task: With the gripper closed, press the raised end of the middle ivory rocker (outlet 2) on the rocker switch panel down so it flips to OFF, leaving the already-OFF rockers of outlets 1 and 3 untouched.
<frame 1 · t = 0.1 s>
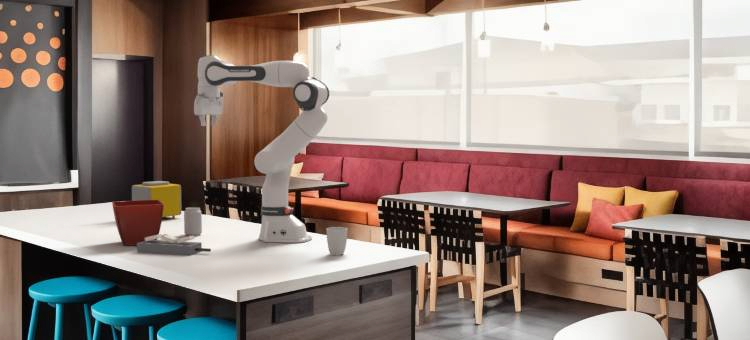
hand: (208, 125, 369), 48 cm above the counter, tool pointing down, fingers open, 8 cm apart
rocker 2: (169, 238, 333), point 5 cm above the counter, hinge at -15.0°
rocker 1: (185, 239, 331), point 5 cm above the counter, hinge at 15.0°
rocker 3: (153, 237, 335), point 5 cm above the counter, hinge at 15.0°
cup: (337, 254, 328), on the counter
rocker switch panel: (169, 251, 333), on the counter
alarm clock: (156, 219, 428), on the counter
plant pot: (138, 243, 354), on the counter
can: (193, 235, 376), on the counter
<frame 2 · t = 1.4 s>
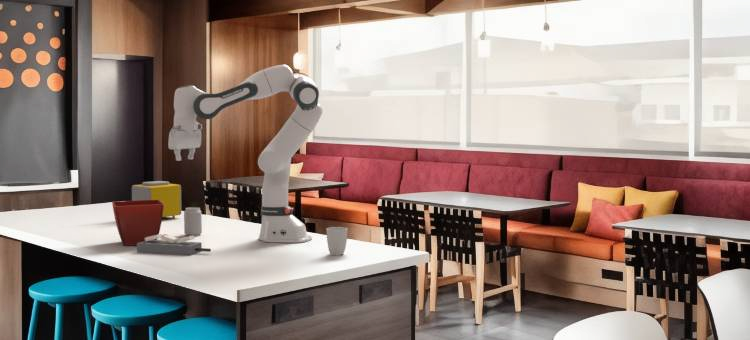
hand: (184, 159, 346), 35 cm above the counter, tool pointing down, fingers open, 8 cm apart
nothing on the counter moved.
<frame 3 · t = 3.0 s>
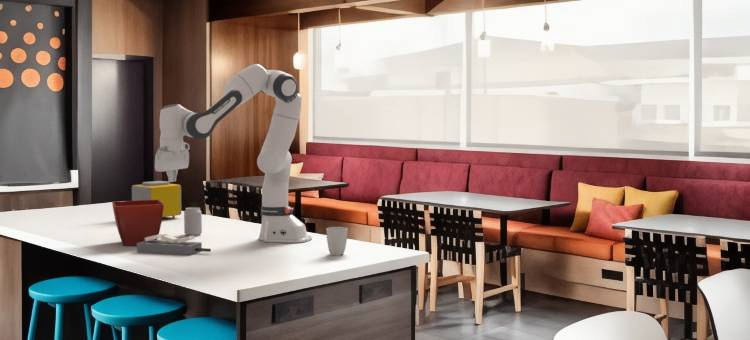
hand: (172, 181, 334), 27 cm above the counter, tool pointing down, fingers closed
nothing on the counter moved.
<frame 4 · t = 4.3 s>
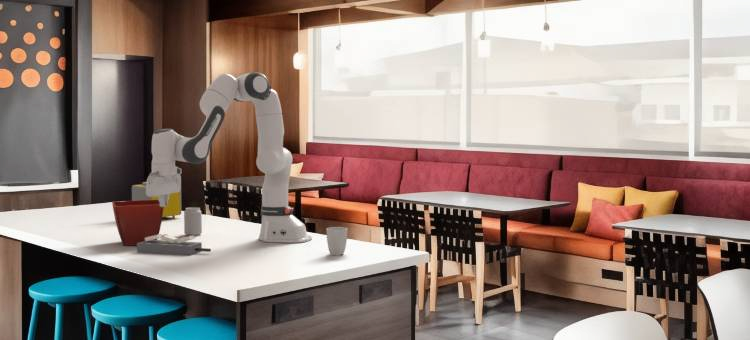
hand: (163, 206, 332), 18 cm above the counter, tool pointing down, fingers closed
nothing on the counter moved.
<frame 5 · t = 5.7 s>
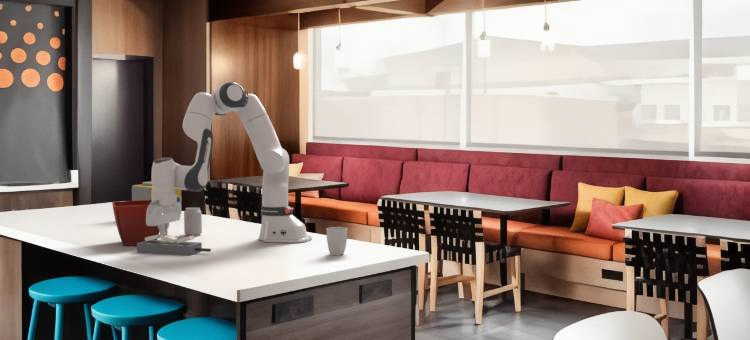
hand: (163, 234, 333), 7 cm above the counter, tool pointing down, fingers closed, pressing on rocker 2
rocker 2: (169, 238, 333), point 5 cm above the counter, hinge at -14.7°, touching gripper
everything else where it was.
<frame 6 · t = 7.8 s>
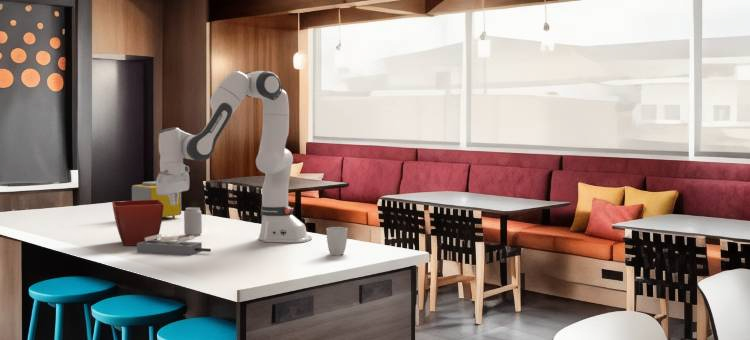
hand: (174, 204, 335), 18 cm above the counter, tool pointing down, fingers closed
rocker 2: (169, 238, 333), point 5 cm above the counter, hinge at 6.9°
everything else where it was.
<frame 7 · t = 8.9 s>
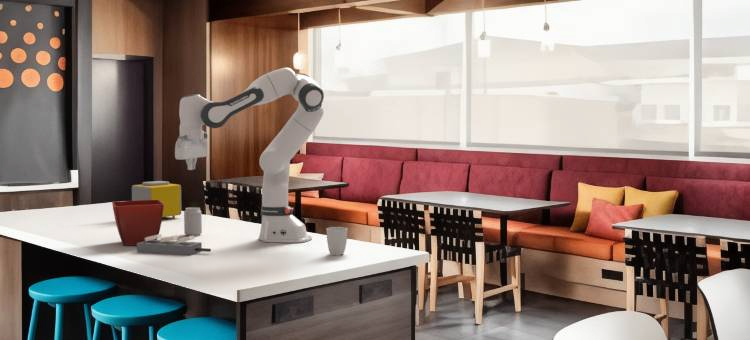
hand: (191, 169, 342), 31 cm above the counter, tool pointing down, fingers closed
rocker 2: (169, 238, 333), point 5 cm above the counter, hinge at 11.3°
everything else where it was.
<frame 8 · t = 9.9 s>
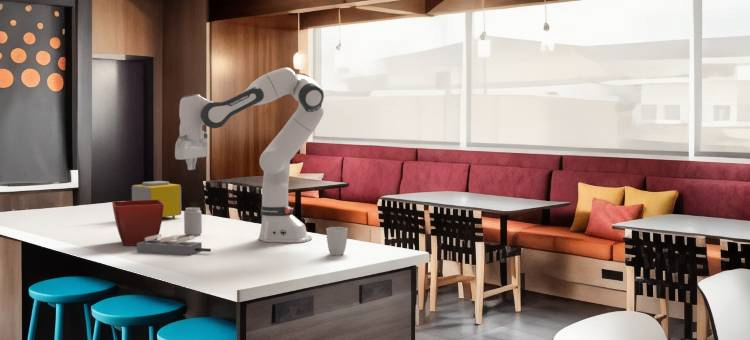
hand: (191, 169, 342), 31 cm above the counter, tool pointing down, fingers closed
rocker 2: (169, 238, 333), point 5 cm above the counter, hinge at 14.0°
everything else where it was.
at the end: rocker 2 at +14° (first picture: -15°); rocker 1 at +15° (first picture: +15°); rocker 3 at +15° (first picture: +15°) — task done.
